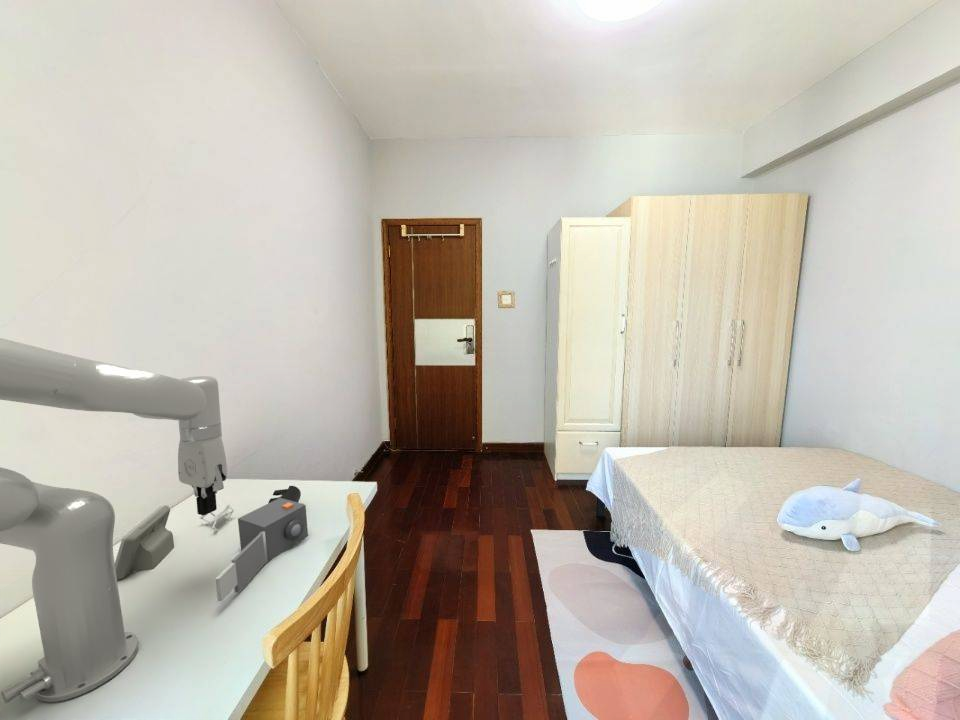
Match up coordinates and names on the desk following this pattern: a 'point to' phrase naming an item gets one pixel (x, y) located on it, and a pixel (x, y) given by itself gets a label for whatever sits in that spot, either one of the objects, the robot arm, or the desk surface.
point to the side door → (242, 567)
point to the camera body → (275, 525)
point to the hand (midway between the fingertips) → (207, 512)
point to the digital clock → (145, 544)
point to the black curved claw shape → (288, 494)
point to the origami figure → (218, 513)
